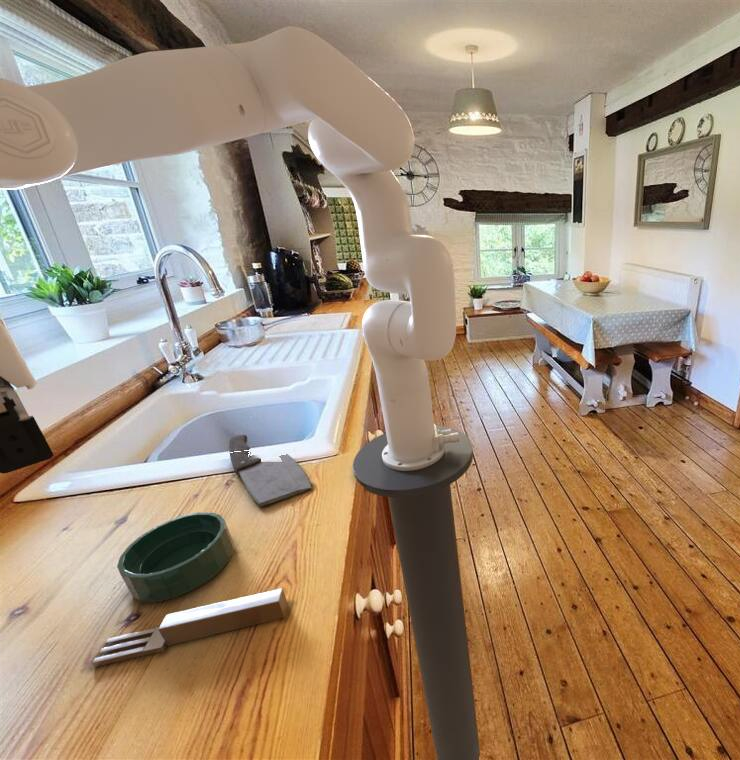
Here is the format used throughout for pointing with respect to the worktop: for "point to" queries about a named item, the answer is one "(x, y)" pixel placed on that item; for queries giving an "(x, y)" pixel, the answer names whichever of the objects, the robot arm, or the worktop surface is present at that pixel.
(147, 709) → the worktop surface
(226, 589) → the worktop surface
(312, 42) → the robot arm
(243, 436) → the cleaver
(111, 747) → the worktop surface
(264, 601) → the fork
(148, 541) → the bowl
